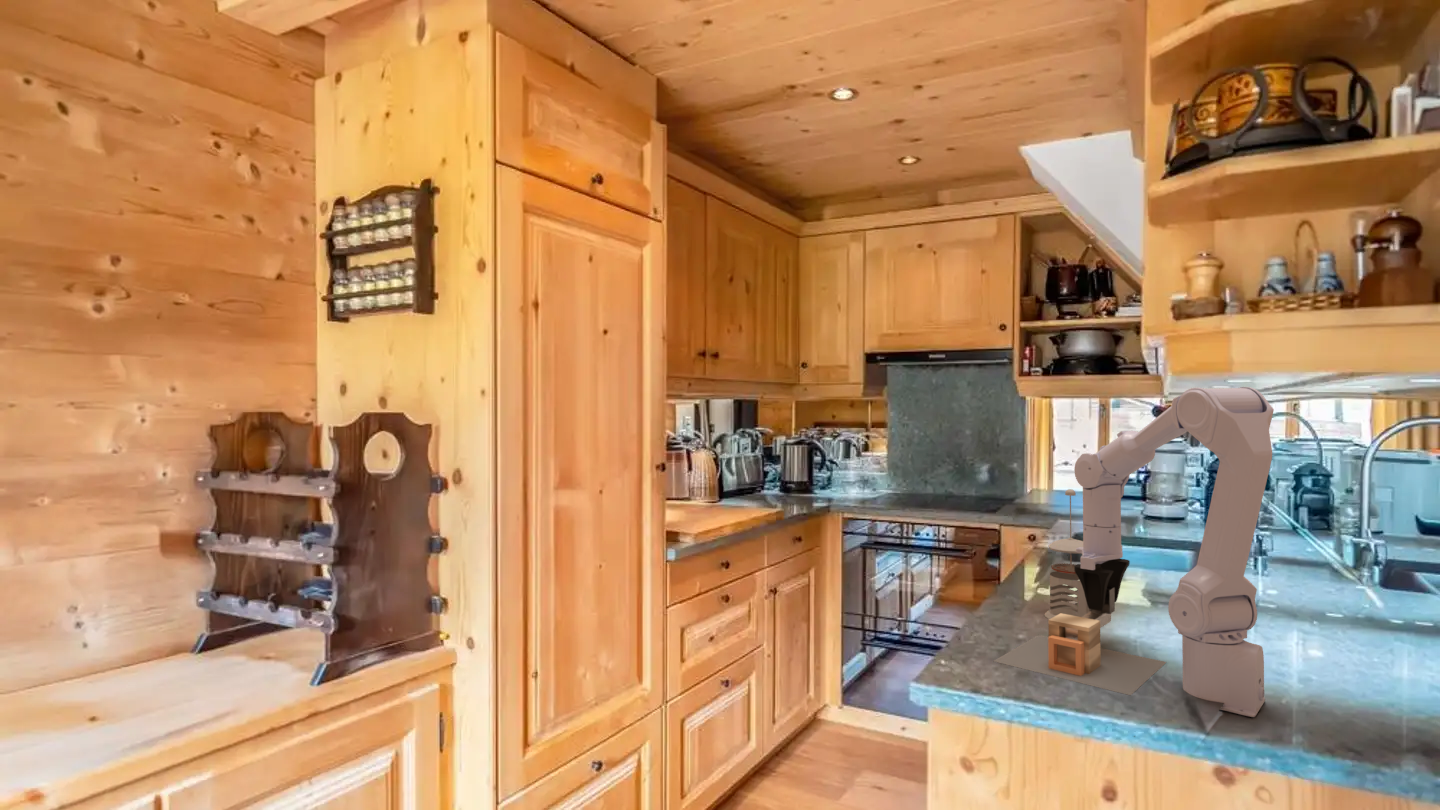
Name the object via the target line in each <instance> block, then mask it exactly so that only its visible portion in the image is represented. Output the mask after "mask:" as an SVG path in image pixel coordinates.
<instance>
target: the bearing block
mask: <svg viewBox="0 0 1440 810" xmlns="http://www.w3.org/2000/svg"><path fill="white" fill-rule="evenodd" d="M1047 621H1048V623H1047V624H1048V625H1047V626H1048V637H1050V636H1051V635H1054V636H1059V637H1064V638H1065V627H1067V628H1072V629H1077V630H1078V640H1079V641H1084V651H1085V673H1087V674H1090V673H1091V672H1093V671H1094V670H1095V669H1096V668H1098V667H1099V666H1100V665H1101V653H1100V648H1101V628H1100V621H1099V620H1094V619H1089V618H1083V617H1078V616H1073V615H1067V614H1062V613H1060V614H1058V615H1056V616H1055V617H1053V618H1051V619H1048V620H1047ZM1057 662H1061V663H1065V664H1070V665H1074V666H1076V655H1075V648H1072V647H1067V646H1063V645H1058V644H1057Z"/></svg>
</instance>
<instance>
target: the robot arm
mask: <svg viewBox="0 0 1440 810" xmlns="http://www.w3.org/2000/svg"><path fill="white" fill-rule="evenodd" d="M1274 411H1275V410H1274V408H1273V407H1272V405H1271V404H1270V402H1269V401H1268V400H1267V398H1265V397H1264V395H1263V394H1262V392H1260V390H1257V388H1254V387H1251V386H1240V387H1233V388H1232V387H1229V388H1227V387H1226V388H1224V387H1222V388H1219V387H1217V388H1214V387H1213V388H1204V387H1198V386H1197V387H1196V386H1195V387H1191V388H1188V389H1186V390H1185V391H1184V392H1182V394H1181V395H1178V396H1176V397H1173V399H1172V402H1171V406H1169V407H1168V408H1167V409H1165V410H1164V411H1162V413H1160V414H1159V415H1158V416H1157V417H1155V418H1154V419H1153V420H1152V421H1151V422H1149V423H1148V424H1147V425H1145V426H1144V427H1143V428H1142V429H1141V430H1140V431H1137V430H1121V431H1119V432H1118V433H1117V434H1116V436H1117V437H1116V438H1115V439H1114V440H1112V441H1111V442H1109V443H1108V444H1107V445H1102V446H1100V447H1099V450H1098V451H1097V452H1096V453H1089V452H1088V453H1087V452H1086V453H1081V455H1080V456H1079V457H1078V458H1077V460H1076V461H1075V465H1074V468H1073V469H1074V470H1073V471H1074V476H1075V479H1076V481H1077V483H1078V485H1080V486H1081V487H1082V534H1083V535H1082V536H1083V537H1082V538H1083V539H1082V541H1083V547H1078V548H1076V552H1077V553H1082V554H1081V556H1080V563H1078V564H1077V565H1076V564H1074V565H1075V566H1074V571H1075V573H1076V574H1077V576H1078V578H1079V580H1080V582H1081V584H1082V587H1083V590H1084V594H1085V598H1086V602H1087V605H1088V608H1089V609H1093V610H1099V611H1102V610H1103V608H1104V604H1105V596H1106V589H1107V586H1109V587H1115V603H1117V601H1118V599H1119V598H1118V597H1119V594H1120V590H1121V585H1122V581H1123V578H1124V575H1125V573H1126V571H1127V569H1128V568H1129V566H1130V563H1131V561H1130V560H1129V559H1125V558H1123V557H1124V556H1123V555H1124V553H1123V544H1122V506H1121V505H1122V500H1121V499H1122V498H1123V496H1124V495H1125V486H1126V484H1127V483H1128V481H1129V480H1130V479H1129V478H1130V475H1131V474H1133V473H1134V472H1136V471H1138V470H1139V469H1141V468H1143V467H1144V466H1146V465H1147V464H1149V463H1151V462H1152V461H1153V460H1154V458H1155V456H1156V449H1158V448H1161V447H1162V446H1164V445H1166V444H1167V443H1169V442H1171V441H1173V440H1175V439H1177V438H1179V437H1181V436H1182V435H1184V434H1186V433H1187V432H1188V433H1189V434H1190V435H1191V436H1192V437H1194V438H1195V439H1196V440H1197V441H1199V443H1201V444H1202V445H1203V446H1204V447H1205V448H1206V449H1207V450H1209V451H1210V452H1212V453H1213V454H1214V455H1215V456H1216V457H1217V458H1218V460H1219V465H1218V468H1217V471H1216V472H1217V473H1216V478H1215V481H1214V486H1213V491H1212V495H1211V500H1210V504H1209V509H1208V514H1207V518H1206V523H1205V525H1204V532H1203V534H1202V535H1203V536H1202V540H1201V545H1200V549H1199V553H1198V554H1199V555H1198V558H1197V562H1196V565H1195V566H1194V567H1193V568H1192V569H1191V570H1189V571H1188V572H1186V574H1184V576H1182V577H1181V578H1180V579H1179V582H1178V587H1177V588H1176V591H1174V592H1173V594H1172V595H1170V598H1169V599H1168V600H1169V601H1168V604H1167V605H1168V607H1167V609H1168V615H1169V618H1170V620H1171V623H1172V624H1173V626H1174V627H1175V628H1176V630H1177V633H1178V634H1179V635H1181V637H1182V642H1181V643H1182V644H1181V645H1182V654H1181V655H1182V690H1183V691H1184V692H1185V693H1187V694H1189V695H1191V696H1193V697H1196V698H1199V699H1202V700H1205V701H1208V702H1209V701H1210V702H1215V703H1221V704H1222V703H1223V704H1222V706H1221V707H1220V708H1219V711H1220V710H1222V711H1225V712H1229V713H1233V714H1236V715H1237V714H1238V715H1242V716H1246V717H1249V718H1250V717H1251V718H1255V717H1256V716H1257V714H1258V712H1259V711H1260V710H1261V708H1262V707H1263V705H1264V703H1265V702H1266V698H1265V662H1264V661H1265V659H1264V658H1265V655H1264V650H1263V649H1264V648H1263V646H1262V645H1260V644H1256V643H1252V642H1249V641H1247V640H1245V639H1247V638H1248V631H1249V630H1251V629H1252V628H1254V627H1255V625H1256V622H1257V621H1258V610H1257V609H1258V608H1257V605H1256V595H1257V591H1258V589H1257V587H1256V586H1255V585H1254V584H1253V583H1252V582H1251V581H1250V580H1249V579H1248V578H1246V576H1245V572H1246V568H1247V563H1248V560H1249V556H1250V551H1251V548H1252V543H1253V539H1254V535H1255V532H1256V528H1257V527H1256V526H1257V522H1258V518H1259V513H1260V510H1261V507H1262V503H1263V497H1264V493H1265V489H1266V485H1267V480H1268V477H1269V473H1270V469H1271V464H1272V460H1273V448H1272V442H1271V441H1272V440H1271V435H1270V428H1271V423H1272V419H1273V415H1274Z"/></svg>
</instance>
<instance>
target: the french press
mask: <svg viewBox="0 0 1440 810" xmlns="http://www.w3.org/2000/svg"><path fill="white" fill-rule="evenodd" d="M1064 493H1065V494H1064V496H1069V537H1068V538H1062V539H1057V540H1054V541H1052V542H1051V543H1050V544H1048V549H1049V550H1051V551H1053V552H1058V553H1063V554H1064V553H1065V554H1069V555H1070V556H1069V557H1070V558H1069V560H1070V563H1060V562H1059V563H1055V564H1052V565H1051V566H1050V568H1051V569H1052V570H1053V571H1051V572H1049V610H1047V611H1046V612H1044V617H1045V618H1046V619H1048V620H1049V619H1051V618H1053V617H1055V616H1056V615H1058V614H1060V613H1062V614H1067V615H1073V616H1078V617H1083V616H1084V615H1086V614H1088V613H1089V612H1091V609H1089V608H1088V605H1087V602H1086V598H1085V594H1084V590H1083V587H1082V584H1081V582H1080V580H1079V578H1078V576H1077V574H1076V573H1075V571H1074V566H1075V565H1077V564H1075V563H1072V554H1074V555H1075V554H1079V555H1080V554H1081V555H1082V553H1077V552H1076V548H1078V547H1083V540H1079V539H1075V538H1073V537H1072V496H1075V497H1076V490H1074V489H1072V488H1071V489H1070V488H1068V489H1067V490H1065V492H1064ZM1073 589H1077V590H1073ZM1072 595H1074V596H1075V597H1074V596H1072ZM1072 602H1075V603H1072Z"/></svg>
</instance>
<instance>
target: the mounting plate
mask: <svg viewBox="0 0 1440 810" xmlns="http://www.w3.org/2000/svg"><path fill="white" fill-rule="evenodd" d="M1048 637H1049V636H1046V635H1041V634H1037V635H1036V636H1034V637H1032V638H1030V639H1028V640H1026V642H1024V643H1022V644H1021V645H1019V646H1017V647H1015V648H1013V649H1012V650H1010V651H1007V652H1006V653H1005V654H1003V655H1001V656H1000V657H998V658H996V659H994V660H993V661H992V662H993V663H996V664H997V663H998V664H1001V665H1007V666H1009V667H1015V668H1018V669H1023V670H1024V671H1025V670H1026V671H1031V672H1034V673H1038V674H1042V675H1046V676H1050V677H1055V678H1058V679H1063V680H1066V681H1070V682H1075V683H1079V684H1083V685H1087V686H1091V687H1094V688H1095V687H1096V688H1099V689H1103V690H1106V691H1111V692H1115V693H1118V694H1123V695H1128V696H1132V695H1133V694H1135V692H1136V691H1137V690H1138V689H1140V688H1141V687H1142V686H1143V685H1144V684H1145V683H1146V682H1147V681H1148V680H1149V679H1151V678H1152V676H1154V675H1155V673H1157V672H1159V670H1160V669H1161V668H1162V667H1164V666H1165V665H1166V664H1167V661H1163V660H1159V659H1154V658H1149V657H1145V656H1139V655H1135V654H1130V653H1125V652H1120V651H1116V650H1111V649H1107V648H1102V647H1100V653H1101V665H1100V666H1099V667H1098V668H1096V669H1095V670H1094V671H1093V672H1091V673H1090V674H1087V673H1084V674H1083V675H1082V676H1080V675H1075V674H1071V673H1067V672H1063V671H1058V670H1054V669H1050V668H1049V659H1048Z"/></svg>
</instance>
